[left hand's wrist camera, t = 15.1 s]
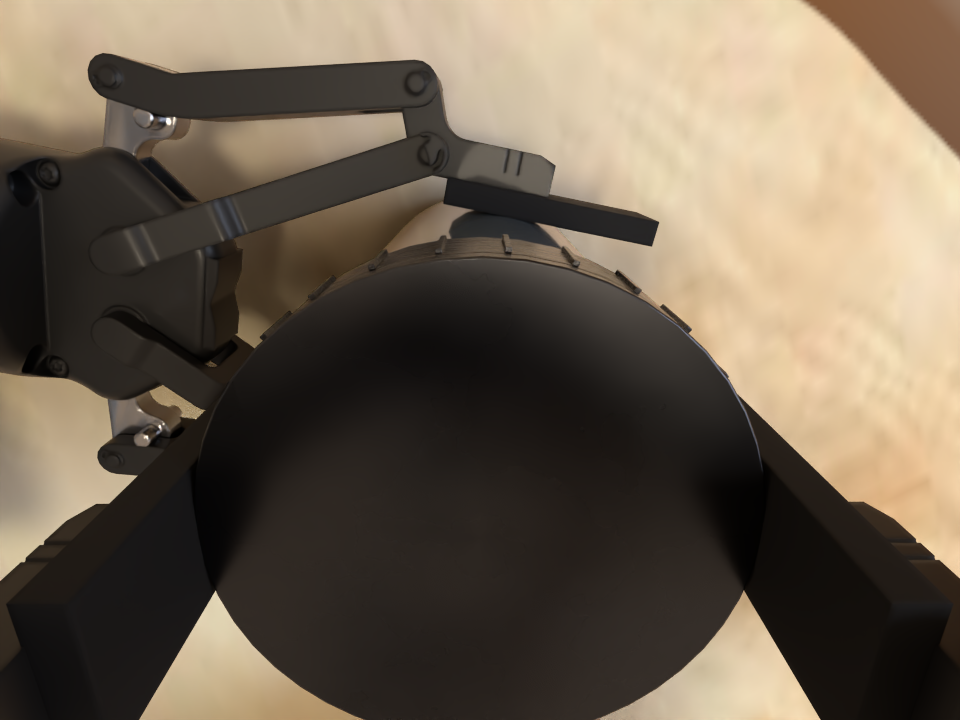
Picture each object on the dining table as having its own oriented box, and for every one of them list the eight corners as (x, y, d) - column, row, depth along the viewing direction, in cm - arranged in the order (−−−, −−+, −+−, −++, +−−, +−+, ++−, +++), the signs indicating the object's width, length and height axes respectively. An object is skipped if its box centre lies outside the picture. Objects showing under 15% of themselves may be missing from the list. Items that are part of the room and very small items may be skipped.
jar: (375, 188, 25) (201, 262, 9) (592, 199, 25) (779, 287, 10) (378, 389, 28) (252, 695, 13) (571, 397, 28) (685, 710, 13)
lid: (134, 476, 12) (73, 536, 10) (482, 104, 10) (483, 94, 8) (476, 727, 15) (476, 812, 13) (822, 480, 12) (884, 540, 11)
